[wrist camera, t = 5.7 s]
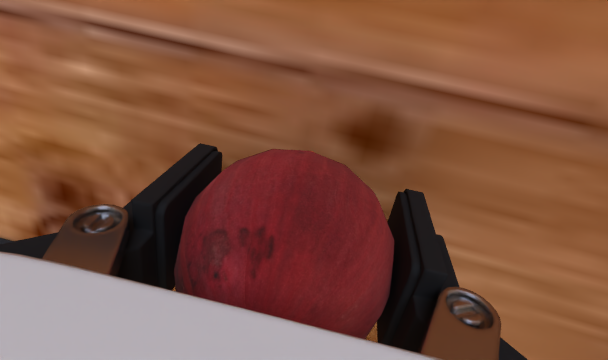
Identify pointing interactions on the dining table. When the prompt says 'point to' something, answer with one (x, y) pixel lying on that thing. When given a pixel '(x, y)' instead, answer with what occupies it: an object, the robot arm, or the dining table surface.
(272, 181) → the onion
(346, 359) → the robot arm
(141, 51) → the dining table surface
